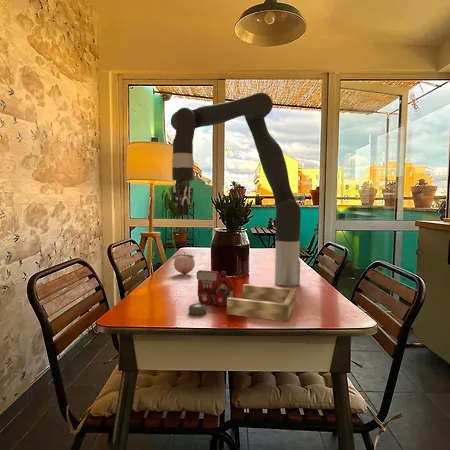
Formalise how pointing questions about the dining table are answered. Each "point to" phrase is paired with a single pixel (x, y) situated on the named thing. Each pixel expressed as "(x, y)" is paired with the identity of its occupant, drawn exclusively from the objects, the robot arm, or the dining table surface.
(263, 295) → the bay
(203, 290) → the toy fire truck
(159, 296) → the dining table surface
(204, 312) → the spare wheel
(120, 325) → the dining table surface
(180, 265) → the decorative fruit
